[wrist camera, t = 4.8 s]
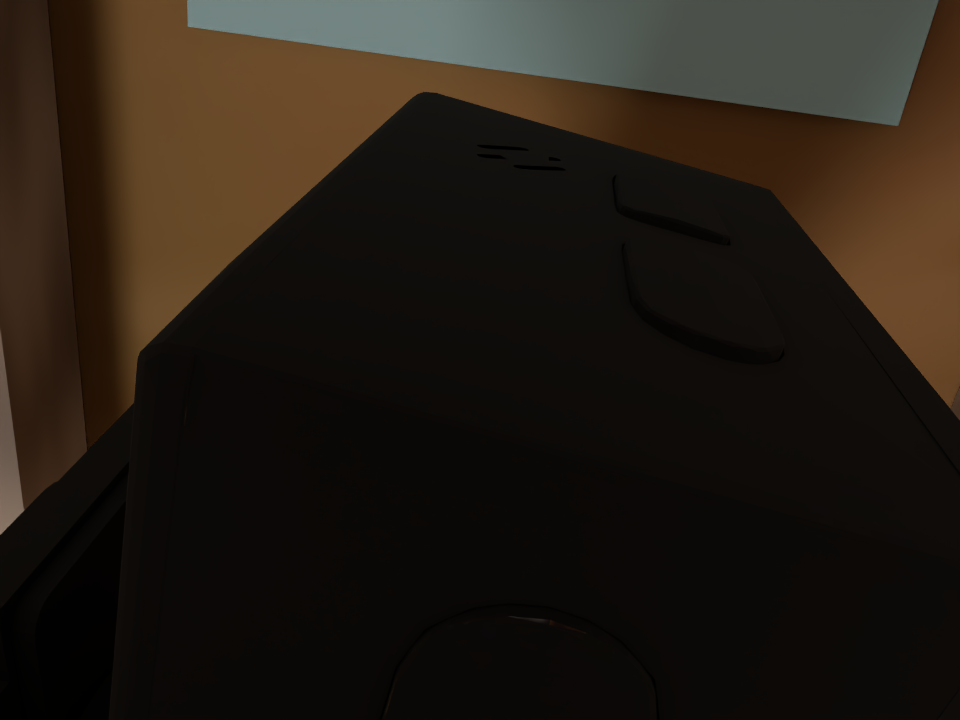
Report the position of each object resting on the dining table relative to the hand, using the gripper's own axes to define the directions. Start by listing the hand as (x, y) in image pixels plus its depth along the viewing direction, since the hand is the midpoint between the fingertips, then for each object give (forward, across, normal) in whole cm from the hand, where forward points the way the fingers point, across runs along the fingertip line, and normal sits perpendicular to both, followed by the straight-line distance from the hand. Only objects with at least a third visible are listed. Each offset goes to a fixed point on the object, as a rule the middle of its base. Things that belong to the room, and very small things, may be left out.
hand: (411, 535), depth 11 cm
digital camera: (+1, 0, 0) cm, 1 cm away
